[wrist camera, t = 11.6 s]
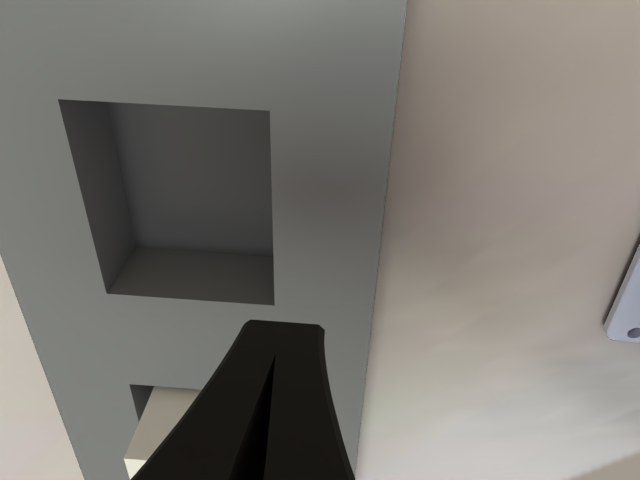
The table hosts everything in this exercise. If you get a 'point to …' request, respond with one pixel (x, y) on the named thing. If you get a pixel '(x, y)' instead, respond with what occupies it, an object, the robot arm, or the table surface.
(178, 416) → the plug
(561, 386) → the table surface
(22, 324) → the table surface
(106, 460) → the socket board
